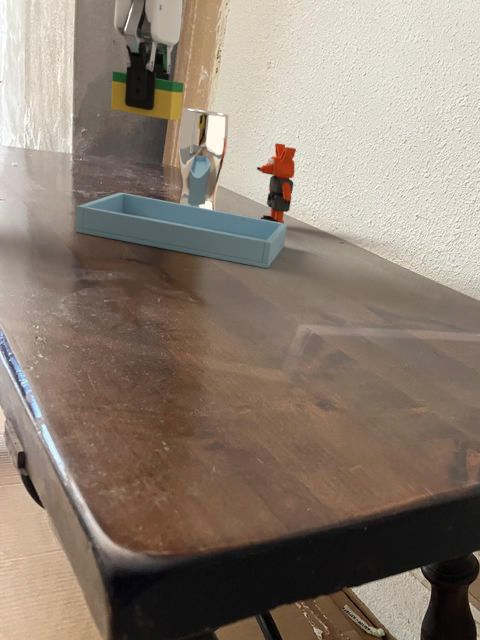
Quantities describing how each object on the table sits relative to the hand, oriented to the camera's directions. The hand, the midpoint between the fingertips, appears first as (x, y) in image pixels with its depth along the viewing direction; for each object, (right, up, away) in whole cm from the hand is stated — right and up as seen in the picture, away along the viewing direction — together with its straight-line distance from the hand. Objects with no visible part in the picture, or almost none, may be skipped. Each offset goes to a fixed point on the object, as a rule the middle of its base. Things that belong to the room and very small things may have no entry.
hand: (146, 106), depth 87 cm
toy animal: (+12, -6, +31) cm, 33 cm away
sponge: (0, -1, 0) cm, 1 cm away
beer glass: (+2, -6, +25) cm, 26 cm away
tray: (+3, -13, +10) cm, 17 cm away
